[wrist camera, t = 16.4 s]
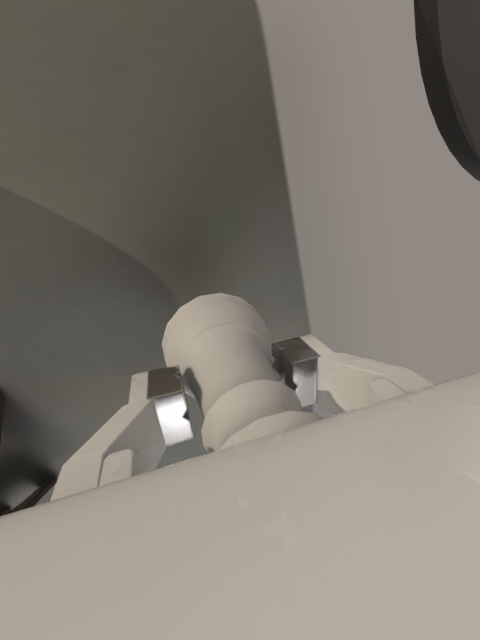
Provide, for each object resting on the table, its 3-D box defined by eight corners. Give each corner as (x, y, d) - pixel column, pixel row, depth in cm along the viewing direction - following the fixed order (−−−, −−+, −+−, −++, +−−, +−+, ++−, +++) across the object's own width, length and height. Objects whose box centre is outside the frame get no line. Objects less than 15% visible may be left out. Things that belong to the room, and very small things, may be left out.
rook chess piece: (182, 395, 13) (218, 624, 6) (144, 311, 11) (128, 496, 4) (270, 360, 14) (397, 527, 7) (248, 275, 12) (394, 379, 5)
